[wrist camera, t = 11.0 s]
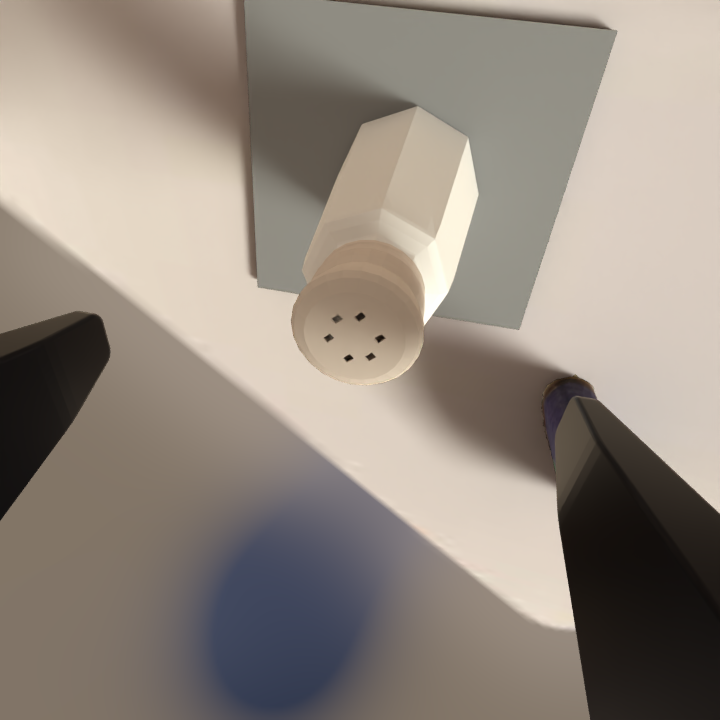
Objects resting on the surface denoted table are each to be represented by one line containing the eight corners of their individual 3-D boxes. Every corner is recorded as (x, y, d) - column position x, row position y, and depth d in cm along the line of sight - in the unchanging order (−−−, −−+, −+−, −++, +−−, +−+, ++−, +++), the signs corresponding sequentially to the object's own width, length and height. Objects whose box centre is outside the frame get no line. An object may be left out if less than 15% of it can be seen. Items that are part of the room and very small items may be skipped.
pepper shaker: (310, 170, 19) (176, 309, 10) (423, 68, 16) (371, 137, 8) (395, 273, 21) (343, 464, 12) (508, 197, 18) (544, 370, 10)
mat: (612, 29, 15) (617, 30, 15) (517, 322, 22) (519, 330, 22) (249, -8, 17) (243, -9, 16) (261, 281, 23) (257, 287, 23)
